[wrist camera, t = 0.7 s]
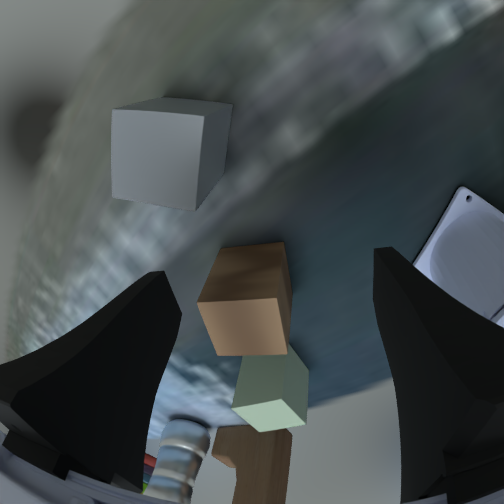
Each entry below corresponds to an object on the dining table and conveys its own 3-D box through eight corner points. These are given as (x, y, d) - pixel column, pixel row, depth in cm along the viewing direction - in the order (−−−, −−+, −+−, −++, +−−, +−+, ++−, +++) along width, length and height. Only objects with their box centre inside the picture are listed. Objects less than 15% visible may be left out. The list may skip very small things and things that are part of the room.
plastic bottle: (223, 434, 38) (191, 564, 21) (186, 436, 40) (151, 552, 24) (194, 411, 35) (151, 554, 19) (157, 414, 38) (112, 539, 21)
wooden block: (234, 440, 39) (209, 554, 24) (216, 426, 37) (185, 548, 22) (293, 434, 36) (278, 562, 20) (279, 419, 34) (258, 559, 19)
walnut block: (283, 241, 22) (276, 298, 16) (292, 293, 24) (287, 354, 19) (220, 248, 23) (196, 302, 17) (235, 297, 25) (217, 355, 20)
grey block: (233, 104, 17) (204, 116, 12) (224, 173, 20) (195, 212, 15) (163, 97, 17) (112, 109, 12) (158, 163, 20) (112, 197, 15)
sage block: (287, 341, 26) (281, 399, 21) (308, 370, 28) (306, 424, 23) (243, 354, 28) (231, 408, 23) (267, 380, 30) (259, 432, 25)
